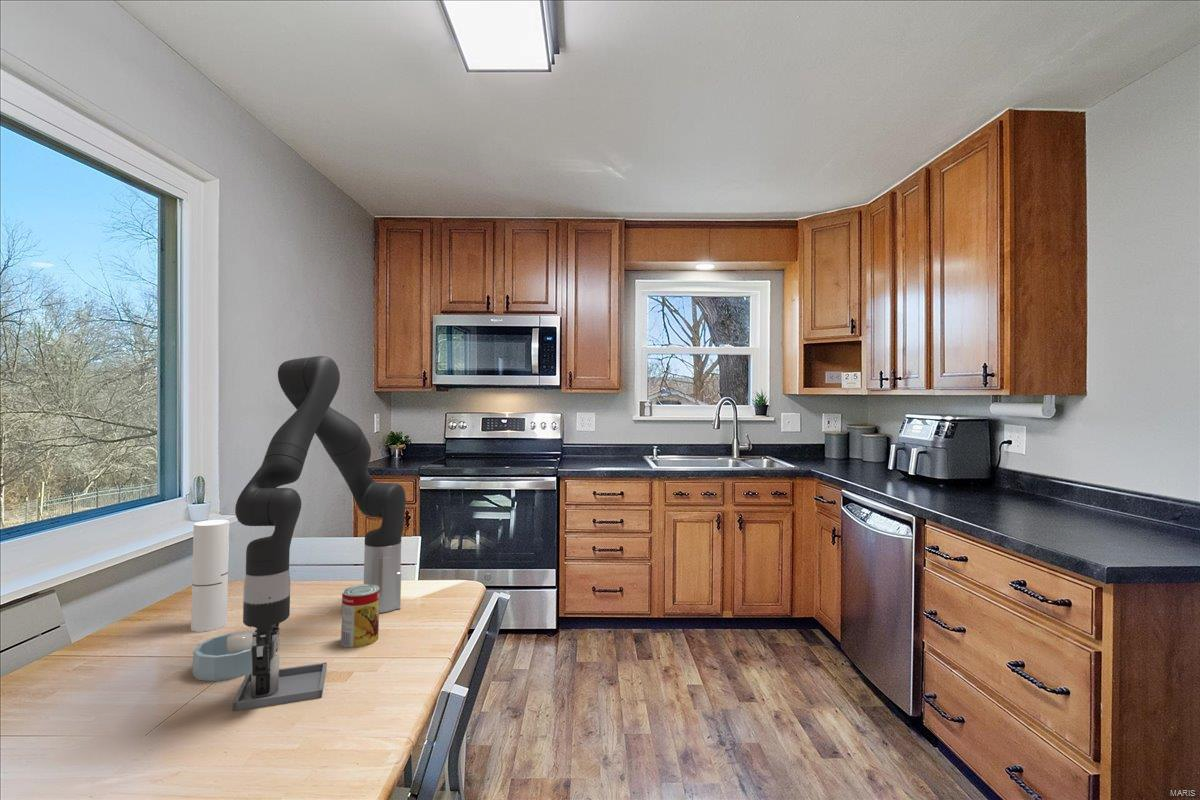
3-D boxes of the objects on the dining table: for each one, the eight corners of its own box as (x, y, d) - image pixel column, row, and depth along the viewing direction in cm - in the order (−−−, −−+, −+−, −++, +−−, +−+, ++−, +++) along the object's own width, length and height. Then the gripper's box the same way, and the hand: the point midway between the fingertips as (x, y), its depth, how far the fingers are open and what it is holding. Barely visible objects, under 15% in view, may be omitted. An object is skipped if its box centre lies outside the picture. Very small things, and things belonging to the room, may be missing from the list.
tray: (326, 671, 115) (326, 662, 115) (321, 699, 104) (321, 690, 104) (246, 682, 110) (246, 673, 110) (232, 714, 99) (232, 703, 99)
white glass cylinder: (253, 659, 118) (254, 630, 118) (249, 668, 114) (250, 638, 114) (228, 662, 116) (229, 633, 116) (223, 671, 112) (224, 641, 112)
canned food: (385, 639, 131) (387, 587, 131) (358, 652, 124) (359, 597, 124) (361, 633, 134) (362, 582, 135) (333, 645, 127) (334, 591, 128)
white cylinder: (280, 683, 108) (280, 652, 108) (276, 694, 104) (277, 662, 104) (253, 687, 106) (254, 655, 107) (248, 699, 102) (249, 665, 102)
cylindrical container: (233, 621, 140) (236, 520, 140) (211, 632, 133) (214, 526, 133) (207, 619, 141) (209, 519, 141) (183, 631, 134) (186, 525, 134)
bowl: (272, 651, 124) (272, 628, 124) (261, 676, 112) (262, 651, 112) (203, 659, 119) (204, 635, 119) (185, 687, 107) (186, 661, 108)
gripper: (284, 605, 100) (282, 702, 100) (294, 581, 114) (292, 667, 113) (235, 610, 97) (232, 710, 97) (251, 585, 111) (249, 673, 111)
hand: (265, 686), depth 105 cm, fingers closed on white cylinder, 4 cm apart
